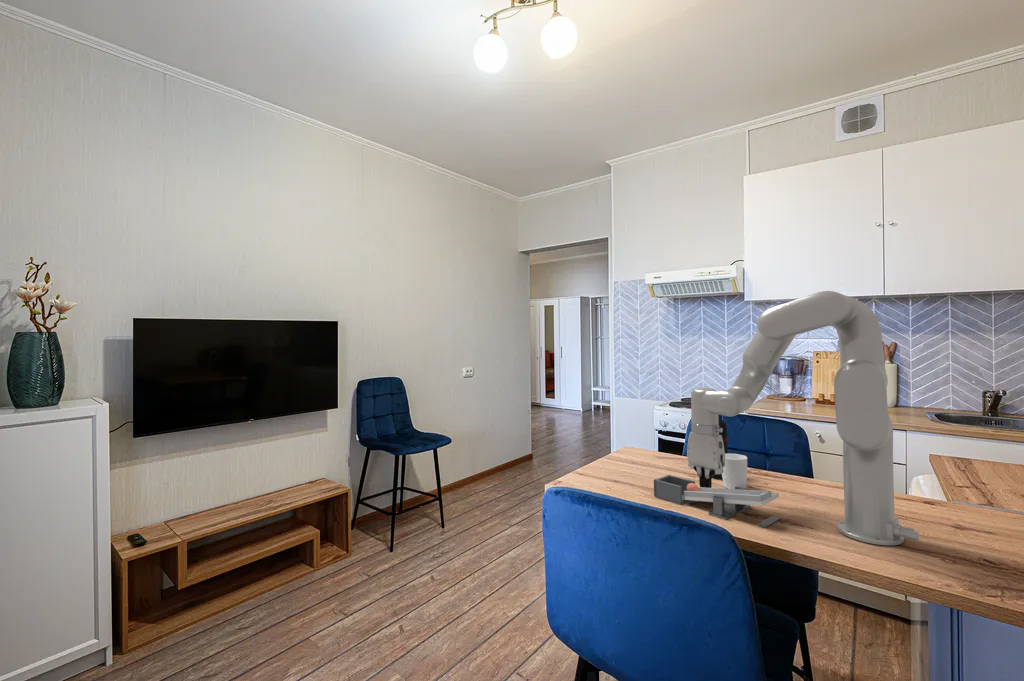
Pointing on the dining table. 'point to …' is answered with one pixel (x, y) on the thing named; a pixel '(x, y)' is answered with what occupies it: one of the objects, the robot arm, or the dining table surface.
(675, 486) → the grey open cubby box
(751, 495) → the seesaw
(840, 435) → the robot arm
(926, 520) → the dining table surface
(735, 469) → the white cup
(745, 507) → the stand
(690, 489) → the ball
